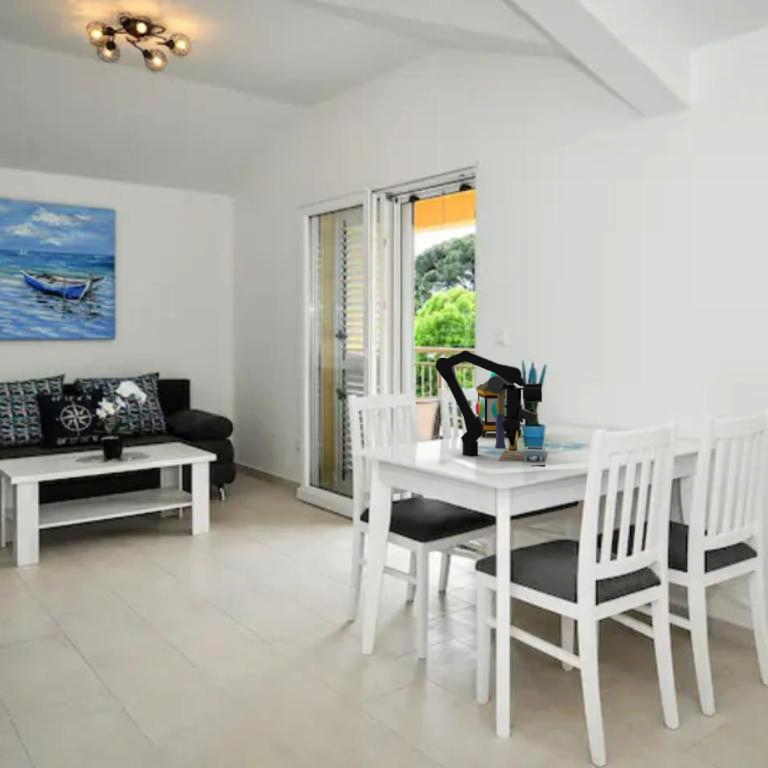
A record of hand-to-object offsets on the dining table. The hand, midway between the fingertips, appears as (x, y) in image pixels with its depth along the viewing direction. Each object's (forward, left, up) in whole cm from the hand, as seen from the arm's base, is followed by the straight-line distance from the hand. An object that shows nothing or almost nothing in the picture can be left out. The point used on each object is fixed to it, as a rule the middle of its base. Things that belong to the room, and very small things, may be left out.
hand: (512, 444), depth 280 cm
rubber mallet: (-19, +5, -6) cm, 20 cm away
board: (+2, +3, -6) cm, 7 cm away
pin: (0, 0, -2) cm, 2 cm away
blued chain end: (+8, +4, -4) cm, 10 cm away
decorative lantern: (-61, +25, -6) cm, 66 cm away
